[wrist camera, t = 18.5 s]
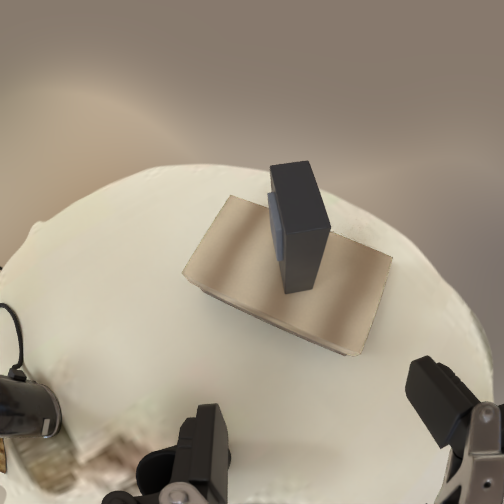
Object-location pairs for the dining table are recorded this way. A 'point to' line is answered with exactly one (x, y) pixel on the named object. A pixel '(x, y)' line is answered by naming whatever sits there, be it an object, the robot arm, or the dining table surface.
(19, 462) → the dining table surface
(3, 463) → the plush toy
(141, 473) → the cup
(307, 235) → the dark grey rectangular block
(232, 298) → the lidded shoe box
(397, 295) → the dining table surface
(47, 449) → the dining table surface
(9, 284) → the dining table surface
